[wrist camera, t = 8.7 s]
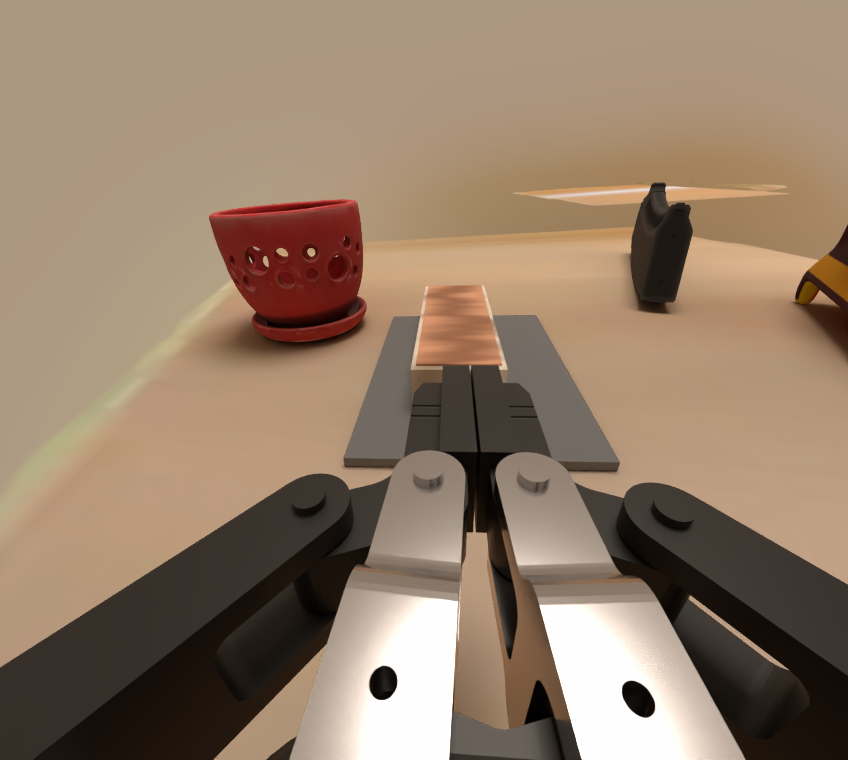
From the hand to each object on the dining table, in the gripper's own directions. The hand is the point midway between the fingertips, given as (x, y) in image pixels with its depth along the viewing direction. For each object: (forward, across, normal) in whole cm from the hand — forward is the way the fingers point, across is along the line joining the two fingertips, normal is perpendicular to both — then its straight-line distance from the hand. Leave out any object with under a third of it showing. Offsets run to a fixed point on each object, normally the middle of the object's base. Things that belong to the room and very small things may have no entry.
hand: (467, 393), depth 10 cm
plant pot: (+28, +16, +9) cm, 33 cm away
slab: (+11, 0, +7) cm, 13 cm away
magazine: (+45, -27, +9) cm, 53 cm away
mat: (+18, -1, +9) cm, 20 cm away
